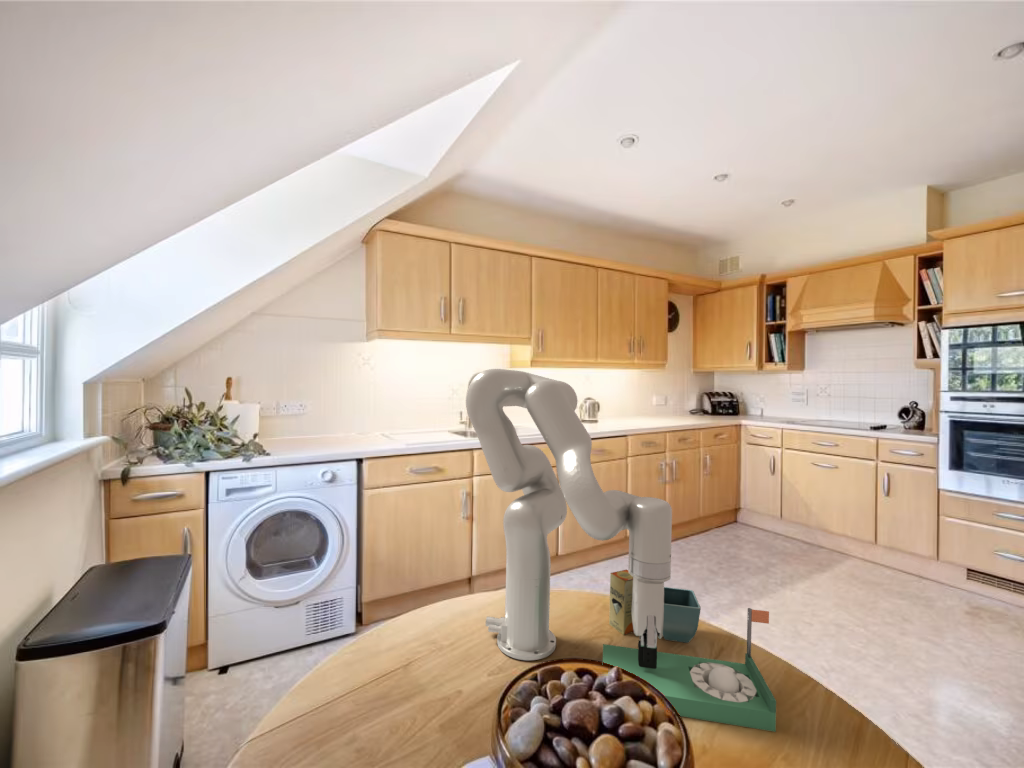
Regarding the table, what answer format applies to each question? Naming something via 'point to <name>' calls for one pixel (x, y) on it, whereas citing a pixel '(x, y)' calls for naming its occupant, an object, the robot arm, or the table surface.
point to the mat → (703, 687)
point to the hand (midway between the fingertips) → (647, 665)
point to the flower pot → (680, 614)
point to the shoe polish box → (621, 601)
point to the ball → (723, 680)
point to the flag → (754, 617)
